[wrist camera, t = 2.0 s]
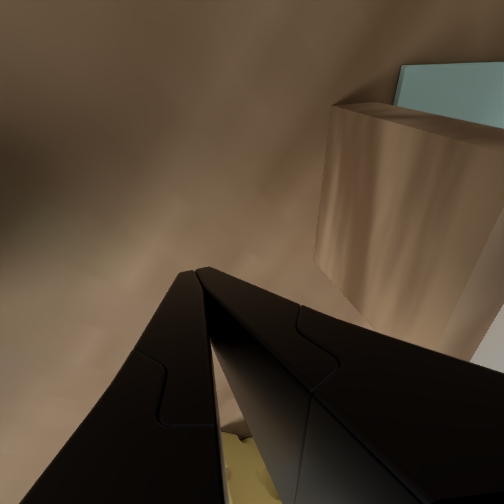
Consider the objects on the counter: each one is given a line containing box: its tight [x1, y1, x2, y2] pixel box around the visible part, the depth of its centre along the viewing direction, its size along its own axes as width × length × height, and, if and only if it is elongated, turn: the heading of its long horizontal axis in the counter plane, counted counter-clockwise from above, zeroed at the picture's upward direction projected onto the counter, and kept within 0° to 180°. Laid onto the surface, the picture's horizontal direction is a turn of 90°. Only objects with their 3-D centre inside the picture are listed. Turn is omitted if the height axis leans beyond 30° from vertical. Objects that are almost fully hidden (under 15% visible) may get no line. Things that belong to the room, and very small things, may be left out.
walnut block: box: [313, 102, 504, 362], centre depth 19 cm, size 4×12×12 cm, turn 1°
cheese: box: [221, 432, 282, 504], centre depth 35 cm, size 10×11×10 cm
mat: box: [393, 62, 504, 129], centre depth 26 cm, size 16×16×1 cm
